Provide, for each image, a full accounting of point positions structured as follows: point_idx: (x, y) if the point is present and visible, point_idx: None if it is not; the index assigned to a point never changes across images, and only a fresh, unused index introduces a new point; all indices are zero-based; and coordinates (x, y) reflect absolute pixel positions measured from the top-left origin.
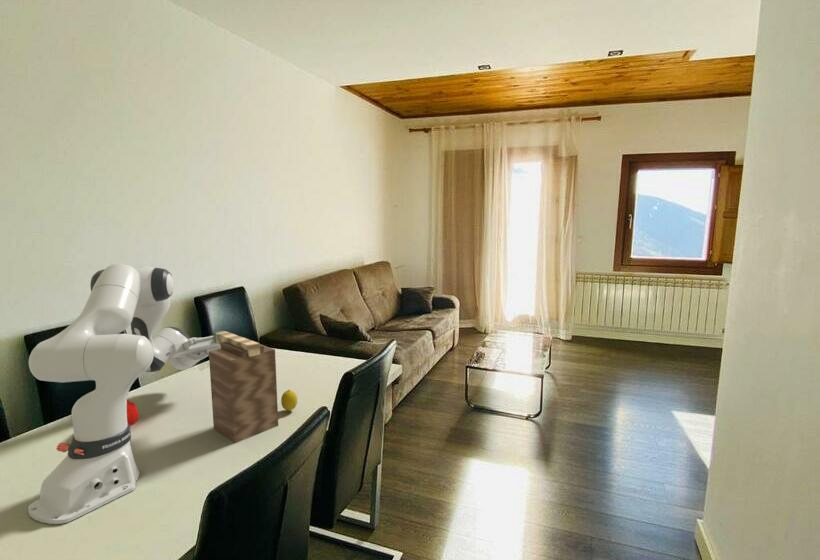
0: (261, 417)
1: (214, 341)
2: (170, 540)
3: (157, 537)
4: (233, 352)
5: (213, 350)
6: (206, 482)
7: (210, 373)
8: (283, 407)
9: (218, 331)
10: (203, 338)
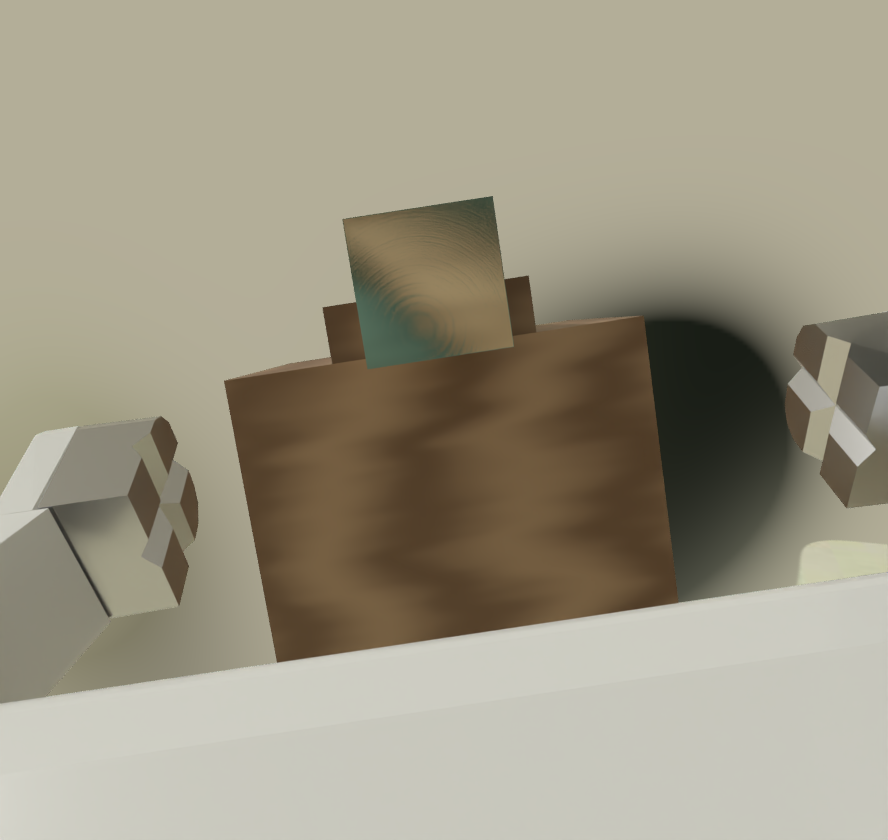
0: None
1: (508, 330)
2: (846, 553)
3: (880, 560)
4: None
5: (602, 322)
6: None
7: (665, 511)
8: None
9: (420, 208)
10: (472, 647)
